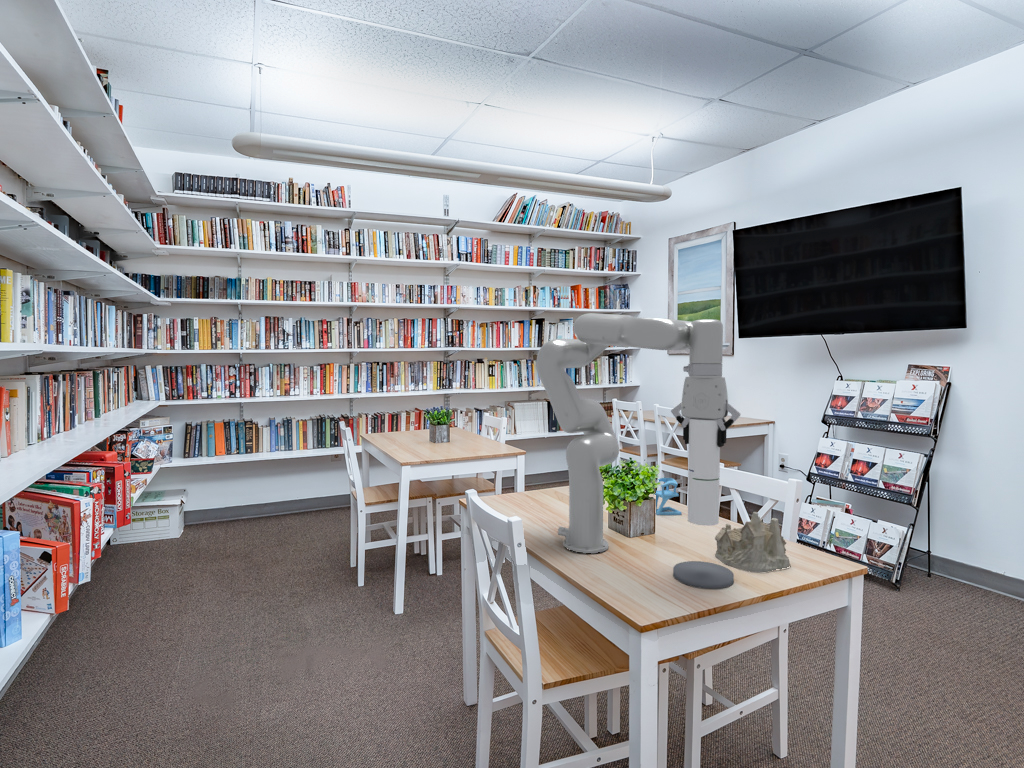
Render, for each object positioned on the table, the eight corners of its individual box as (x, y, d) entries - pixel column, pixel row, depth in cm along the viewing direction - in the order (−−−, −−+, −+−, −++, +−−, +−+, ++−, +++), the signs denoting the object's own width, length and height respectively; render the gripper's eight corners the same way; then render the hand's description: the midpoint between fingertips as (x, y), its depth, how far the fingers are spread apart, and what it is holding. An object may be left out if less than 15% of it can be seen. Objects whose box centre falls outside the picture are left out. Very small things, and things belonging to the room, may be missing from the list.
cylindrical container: (706, 516, 145) (707, 416, 144) (725, 523, 139) (726, 419, 137) (681, 518, 143) (683, 417, 142) (699, 526, 136) (701, 420, 135)
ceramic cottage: (800, 568, 147) (796, 509, 147) (743, 577, 143) (739, 516, 143) (760, 552, 162) (757, 498, 162) (707, 559, 158) (704, 504, 158)
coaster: (664, 580, 140) (665, 574, 140) (683, 563, 151) (683, 557, 151) (724, 593, 132) (724, 587, 132) (739, 574, 143) (740, 568, 143)
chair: (648, 511, 202) (648, 477, 201) (669, 508, 204) (669, 475, 204) (660, 517, 194) (660, 481, 194) (682, 514, 197) (682, 479, 196)
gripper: (664, 371, 141) (663, 443, 142) (739, 372, 131) (737, 450, 132) (675, 370, 147) (674, 439, 148) (747, 371, 137) (745, 446, 138)
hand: (704, 444), depth 140 cm, fingers closed on cylindrical container, 7 cm apart
